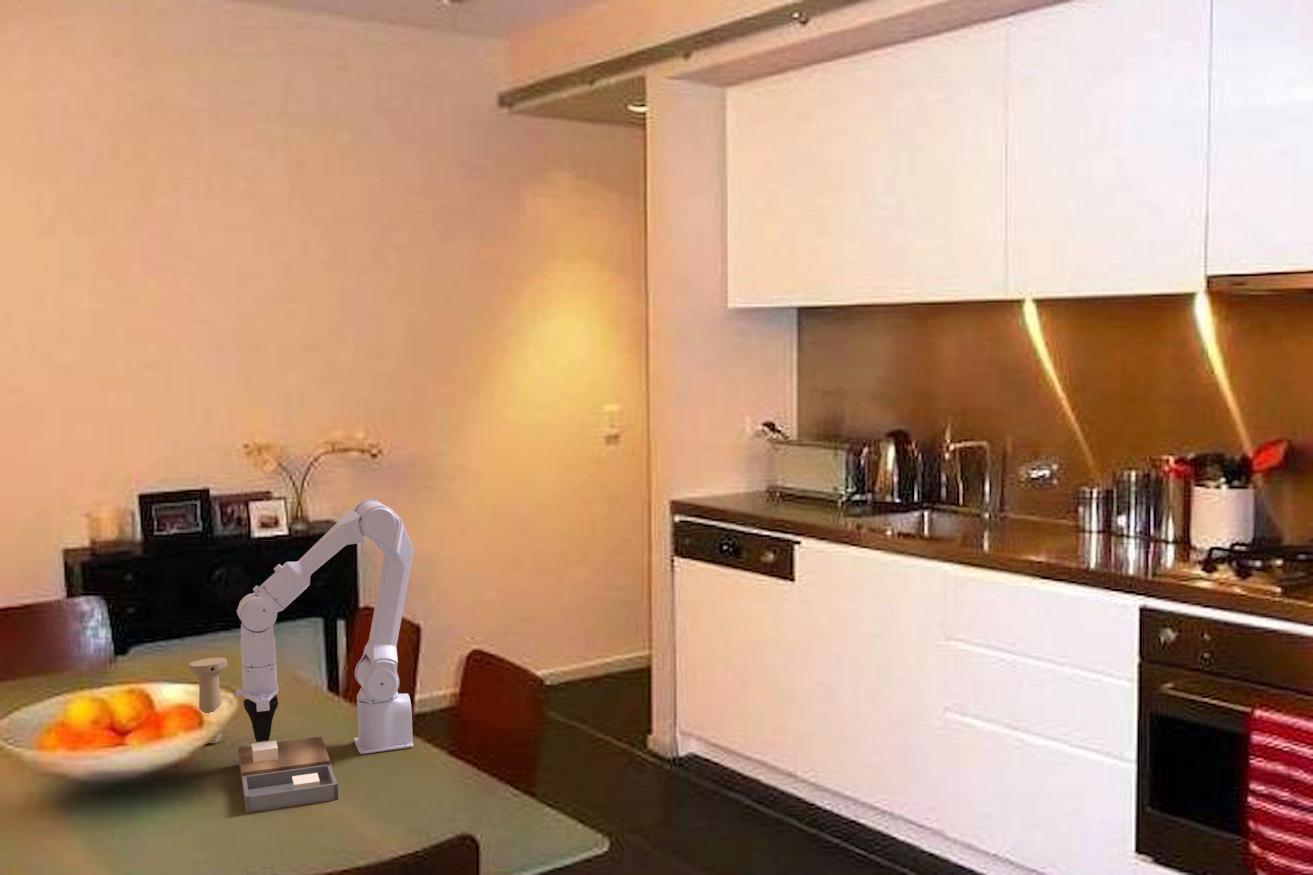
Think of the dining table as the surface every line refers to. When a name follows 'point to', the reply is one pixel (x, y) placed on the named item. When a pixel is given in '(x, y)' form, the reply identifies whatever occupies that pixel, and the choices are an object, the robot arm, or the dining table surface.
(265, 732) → the robot arm
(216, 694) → the handle
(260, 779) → the tray
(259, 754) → the tile
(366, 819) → the dining table surface
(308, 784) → the tile
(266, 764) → the board
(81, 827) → the dining table surface
